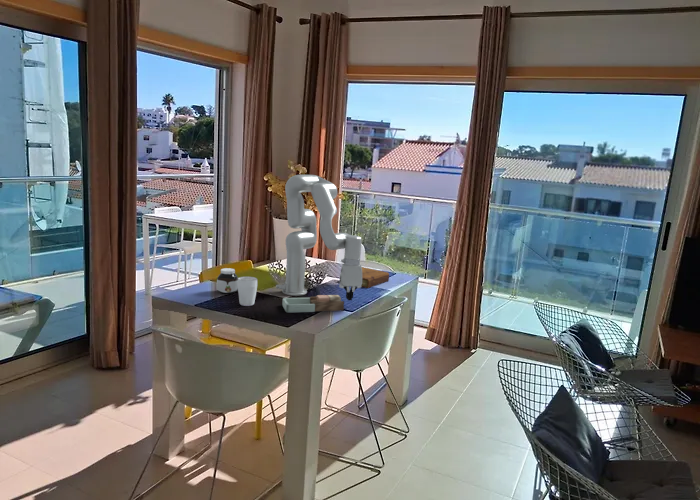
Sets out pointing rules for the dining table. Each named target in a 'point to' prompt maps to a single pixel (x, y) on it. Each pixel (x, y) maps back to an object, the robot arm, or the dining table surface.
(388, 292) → the dining table surface
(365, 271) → the diary
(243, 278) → the cup
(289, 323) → the dining table surface
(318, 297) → the terracotta tile
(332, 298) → the maple tile
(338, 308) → the bench plate
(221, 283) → the spread jar
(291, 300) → the box
